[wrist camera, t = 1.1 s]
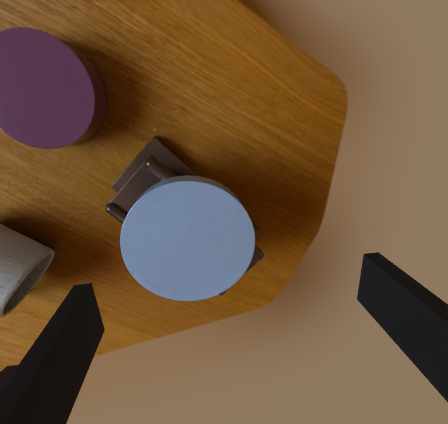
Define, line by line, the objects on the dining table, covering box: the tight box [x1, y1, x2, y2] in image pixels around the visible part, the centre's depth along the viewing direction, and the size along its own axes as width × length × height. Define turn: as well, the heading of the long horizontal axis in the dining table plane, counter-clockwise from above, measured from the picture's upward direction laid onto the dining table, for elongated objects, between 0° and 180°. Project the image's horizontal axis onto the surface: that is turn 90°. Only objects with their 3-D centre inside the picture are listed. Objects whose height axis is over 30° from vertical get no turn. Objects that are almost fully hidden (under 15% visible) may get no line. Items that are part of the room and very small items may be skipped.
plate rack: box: [105, 136, 264, 295], centre depth 27 cm, size 7×16×8 cm, turn 46°
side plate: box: [120, 175, 255, 301], centre depth 23 cm, size 11×11×2 cm
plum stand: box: [0, 27, 107, 149], centre depth 24 cm, size 9×9×4 cm
